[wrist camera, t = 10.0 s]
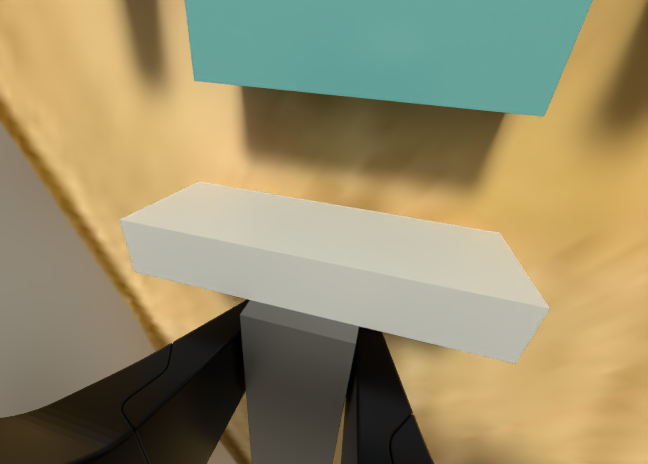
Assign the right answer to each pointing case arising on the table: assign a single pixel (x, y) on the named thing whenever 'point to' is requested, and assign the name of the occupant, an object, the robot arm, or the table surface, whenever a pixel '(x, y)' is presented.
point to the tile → (391, 48)
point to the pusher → (330, 295)
